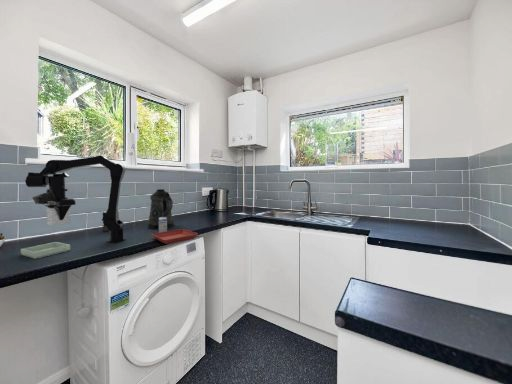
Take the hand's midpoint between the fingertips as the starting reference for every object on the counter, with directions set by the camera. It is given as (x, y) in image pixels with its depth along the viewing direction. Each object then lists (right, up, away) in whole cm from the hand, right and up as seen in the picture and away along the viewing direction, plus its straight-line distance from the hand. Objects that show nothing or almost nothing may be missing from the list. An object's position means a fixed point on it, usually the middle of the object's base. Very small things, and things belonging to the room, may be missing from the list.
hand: (58, 219), depth 107 cm
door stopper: (+3, -11, +35) cm, 37 cm away
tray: (+3, -13, -10) cm, 17 cm away
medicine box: (+39, -11, +27) cm, 48 cm away
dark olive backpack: (+31, -10, +44) cm, 55 cm away
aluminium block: (0, -2, 0) cm, 2 cm away
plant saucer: (+51, -12, +12) cm, 54 cm away
